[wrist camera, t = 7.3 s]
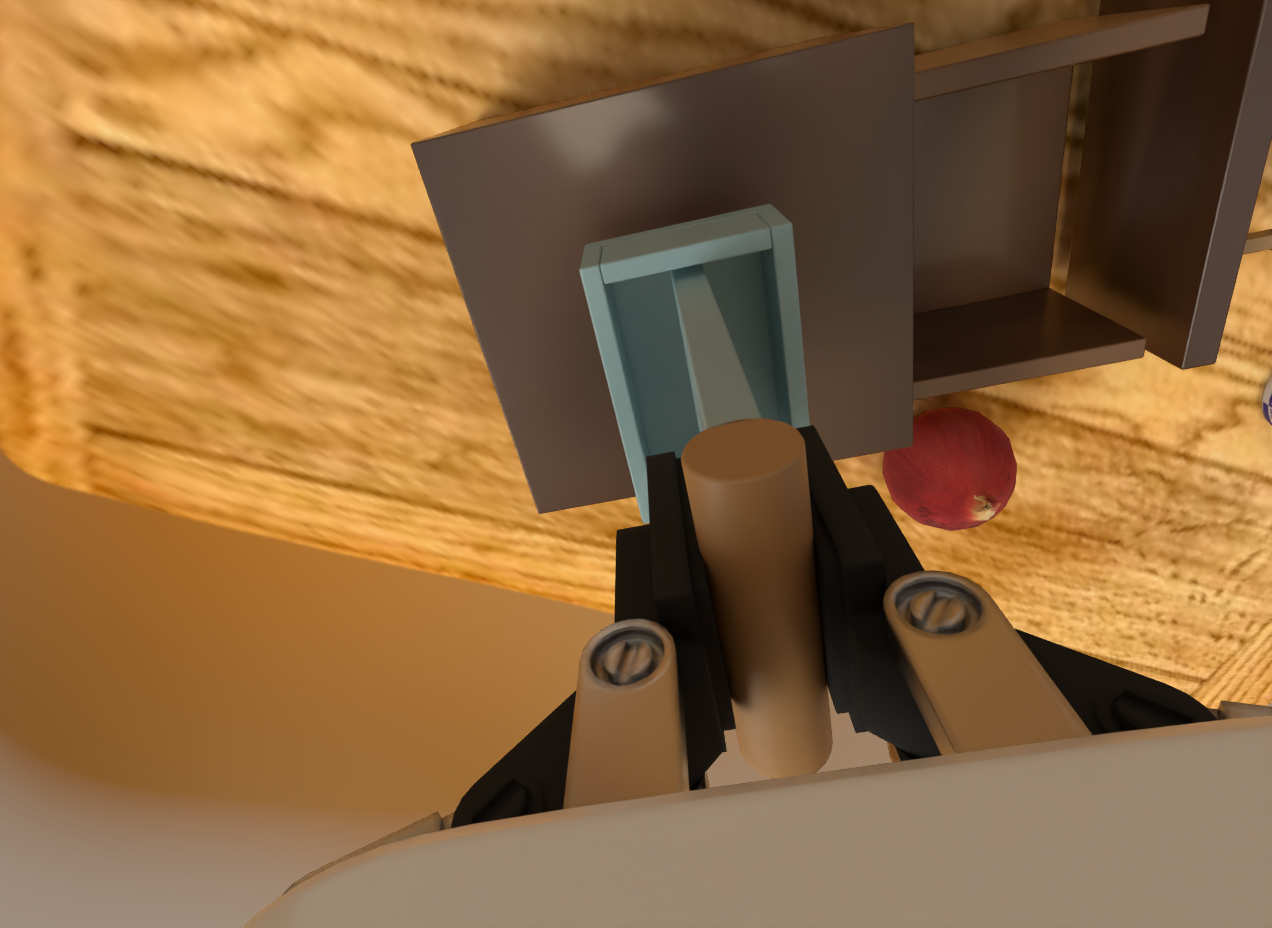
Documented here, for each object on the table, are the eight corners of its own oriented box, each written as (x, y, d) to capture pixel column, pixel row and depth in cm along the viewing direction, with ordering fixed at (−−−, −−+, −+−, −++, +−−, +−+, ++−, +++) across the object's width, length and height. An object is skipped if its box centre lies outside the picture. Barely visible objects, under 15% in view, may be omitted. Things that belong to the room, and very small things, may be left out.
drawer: (1274, -53, 24) (1519, -99, 18) (1200, 278, 31) (1361, 337, 24) (773, 67, 26) (823, 67, 20) (799, 357, 32) (844, 433, 26)
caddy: (771, 202, 17) (969, 380, 7) (795, 448, 21) (949, 789, 11) (584, 244, 18) (531, 464, 8) (641, 477, 22) (654, 828, 12)
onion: (968, 471, 37) (1046, 563, 30) (862, 485, 37) (915, 579, 30) (979, 374, 34) (1069, 452, 27) (864, 390, 34) (924, 472, 27)
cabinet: (825, 36, 26) (915, 21, 18) (842, 353, 33) (913, 446, 25) (474, 121, 28) (409, 143, 20) (559, 408, 35) (538, 514, 26)
